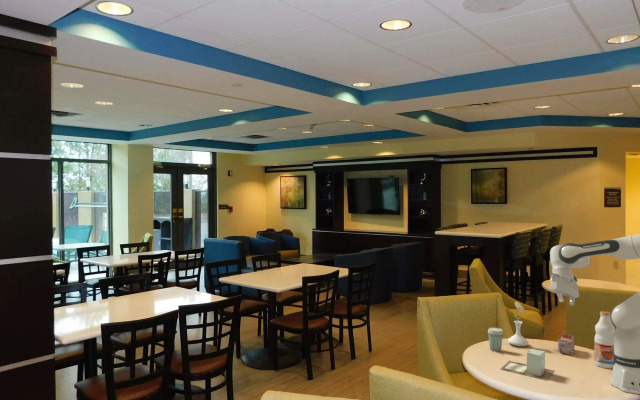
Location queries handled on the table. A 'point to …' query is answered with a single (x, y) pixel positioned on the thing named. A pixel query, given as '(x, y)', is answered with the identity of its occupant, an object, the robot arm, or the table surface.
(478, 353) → the table surface
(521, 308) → the flower in vase
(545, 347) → the table surface
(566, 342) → the food item
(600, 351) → the fruit juice
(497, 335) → the coffee cup
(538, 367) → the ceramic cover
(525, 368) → the walnut board
